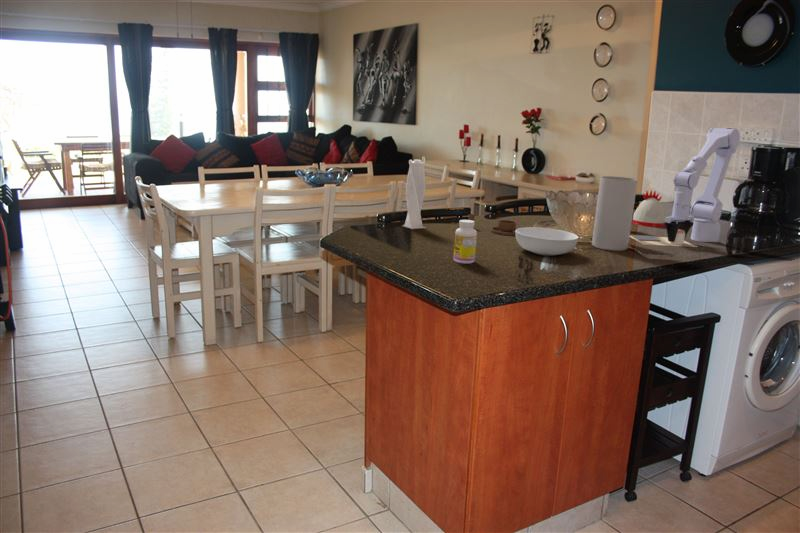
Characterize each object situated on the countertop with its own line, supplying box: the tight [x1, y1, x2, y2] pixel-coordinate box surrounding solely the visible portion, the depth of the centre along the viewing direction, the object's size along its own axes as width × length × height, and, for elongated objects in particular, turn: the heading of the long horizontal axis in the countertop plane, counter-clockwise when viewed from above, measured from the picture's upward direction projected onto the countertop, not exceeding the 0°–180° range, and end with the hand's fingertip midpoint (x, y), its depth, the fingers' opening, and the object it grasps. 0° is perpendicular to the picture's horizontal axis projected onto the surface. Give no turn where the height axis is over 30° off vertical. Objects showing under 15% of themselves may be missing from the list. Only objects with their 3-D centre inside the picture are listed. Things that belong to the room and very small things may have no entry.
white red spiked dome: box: [632, 190, 666, 228], centre depth 284 cm, size 14×14×15 cm
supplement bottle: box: [452, 219, 478, 264], centre depth 197 cm, size 7×7×13 cm
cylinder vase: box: [591, 175, 638, 252], centre depth 228 cm, size 12×12×25 cm
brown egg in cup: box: [668, 229, 686, 245], centre depth 237 cm, size 5×5×5 cm
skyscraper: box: [401, 156, 427, 230], centre depth 245 cm, size 8×8×28 cm
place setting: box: [467, 213, 518, 236], centre depth 251 cm, size 18×20×6 cm
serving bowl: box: [514, 226, 579, 257], centre depth 217 cm, size 21×21×7 cm
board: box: [629, 235, 698, 248], centre depth 241 cm, size 20×16×2 cm
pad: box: [630, 234, 660, 241], centre depth 243 cm, size 8×8×1 cm
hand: (676, 240), depth 238 cm, fingers closed on brown egg in cup, 5 cm apart
